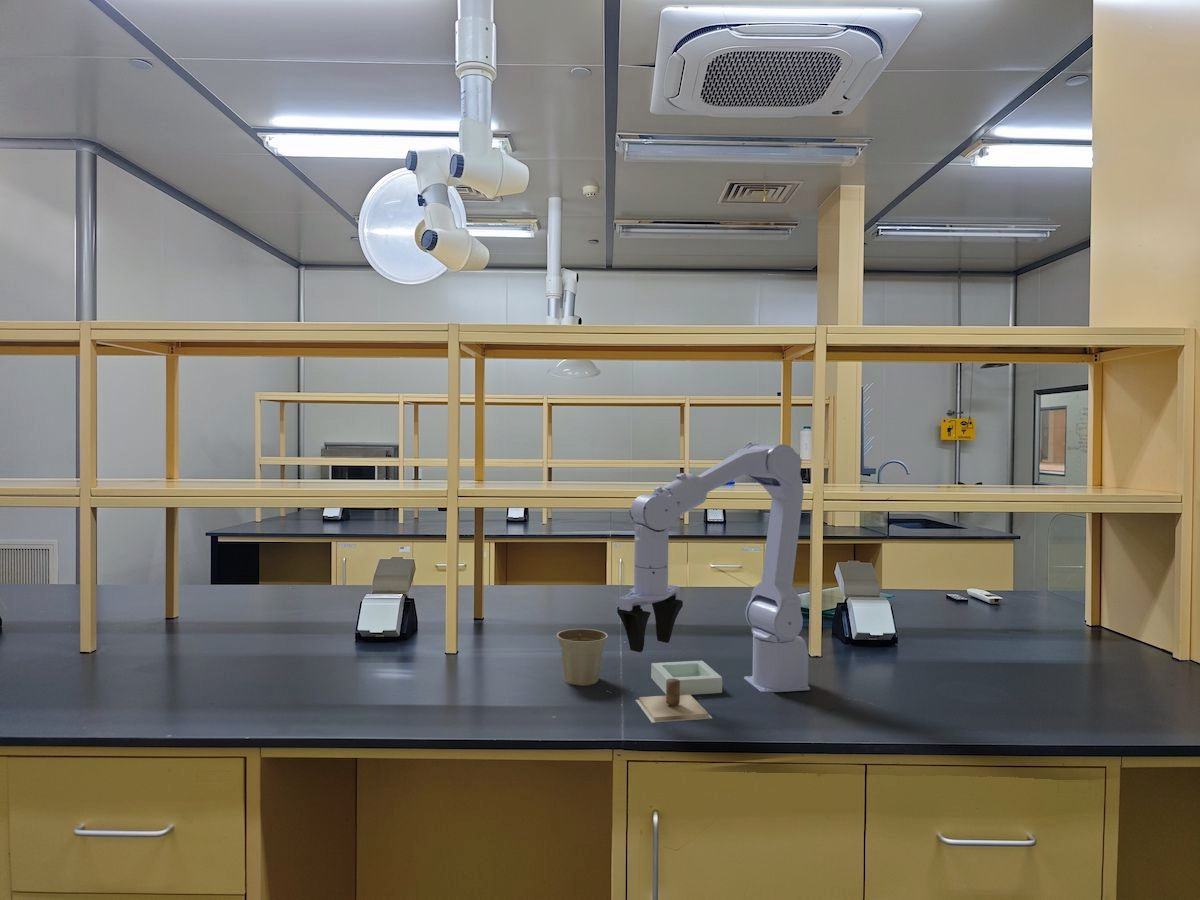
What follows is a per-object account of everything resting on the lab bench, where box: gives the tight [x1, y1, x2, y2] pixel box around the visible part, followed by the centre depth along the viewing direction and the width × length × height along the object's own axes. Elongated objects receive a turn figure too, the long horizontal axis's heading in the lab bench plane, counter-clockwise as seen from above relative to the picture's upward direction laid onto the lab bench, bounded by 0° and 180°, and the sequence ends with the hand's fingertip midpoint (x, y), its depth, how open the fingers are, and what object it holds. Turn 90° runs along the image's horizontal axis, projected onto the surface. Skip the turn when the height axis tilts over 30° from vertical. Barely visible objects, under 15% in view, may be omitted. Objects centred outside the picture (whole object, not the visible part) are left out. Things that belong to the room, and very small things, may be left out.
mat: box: [635, 699, 713, 724], centre depth 116 cm, size 10×10×1 cm
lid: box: [638, 679, 710, 721], centre depth 116 cm, size 9×9×5 cm
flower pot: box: [556, 628, 609, 686], centre depth 130 cm, size 9×9×9 cm
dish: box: [650, 660, 723, 696], centre depth 128 cm, size 10×10×3 cm
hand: (650, 646), depth 120 cm, fingers open, 7 cm apart
